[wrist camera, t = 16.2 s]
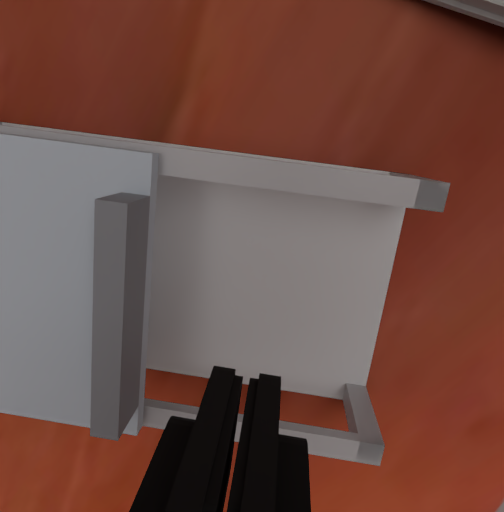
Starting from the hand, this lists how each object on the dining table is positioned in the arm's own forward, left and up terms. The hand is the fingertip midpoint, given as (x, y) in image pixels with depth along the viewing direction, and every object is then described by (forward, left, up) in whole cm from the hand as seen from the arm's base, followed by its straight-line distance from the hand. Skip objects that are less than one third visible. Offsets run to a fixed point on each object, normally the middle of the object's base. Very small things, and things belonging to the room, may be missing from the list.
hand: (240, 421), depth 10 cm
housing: (+1, -5, -15) cm, 16 cm away
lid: (+1, -10, -8) cm, 13 cm away
